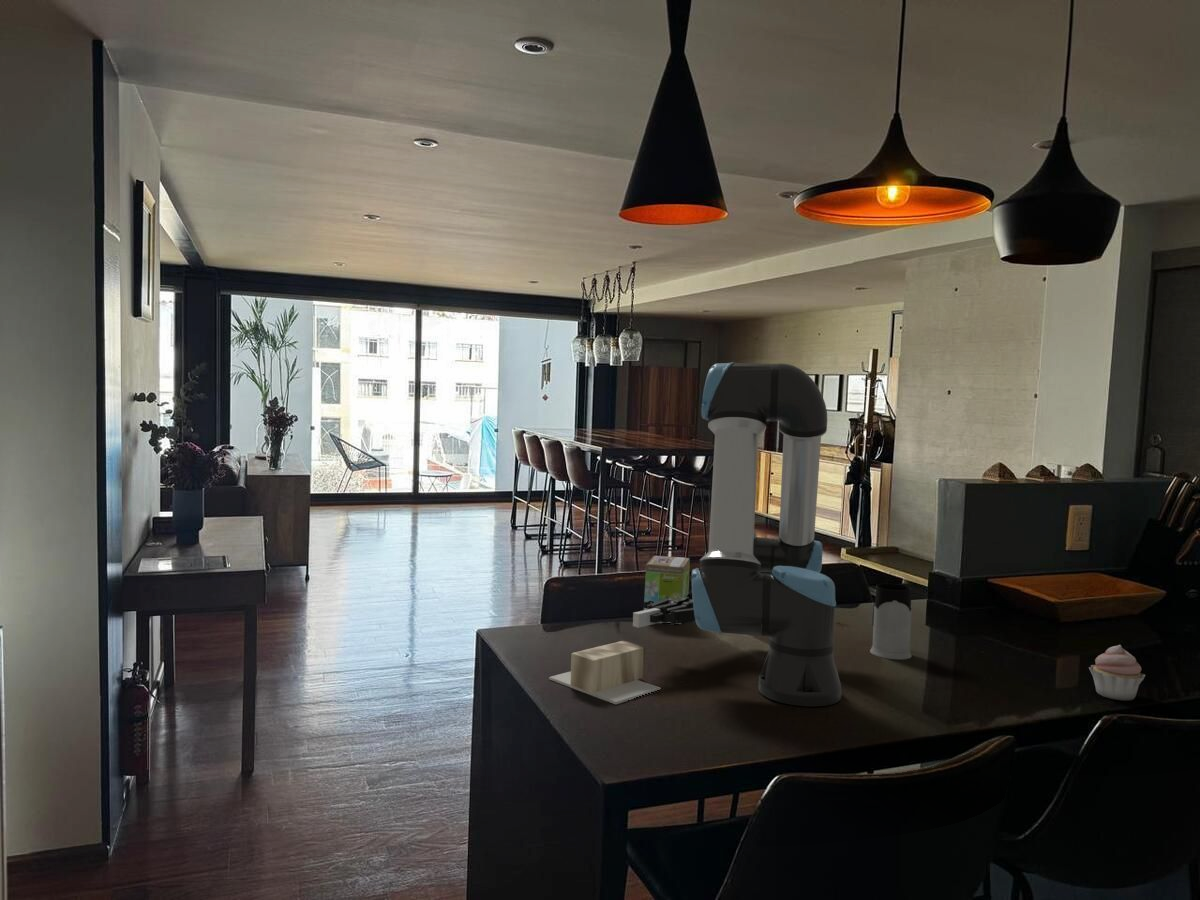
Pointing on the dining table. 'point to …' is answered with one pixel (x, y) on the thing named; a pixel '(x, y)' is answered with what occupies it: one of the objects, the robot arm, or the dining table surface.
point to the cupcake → (1116, 674)
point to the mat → (611, 689)
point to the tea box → (666, 579)
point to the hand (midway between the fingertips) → (635, 620)
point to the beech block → (607, 666)
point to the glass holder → (892, 622)
